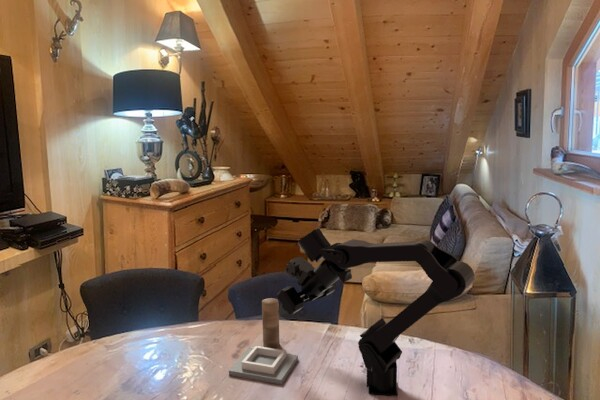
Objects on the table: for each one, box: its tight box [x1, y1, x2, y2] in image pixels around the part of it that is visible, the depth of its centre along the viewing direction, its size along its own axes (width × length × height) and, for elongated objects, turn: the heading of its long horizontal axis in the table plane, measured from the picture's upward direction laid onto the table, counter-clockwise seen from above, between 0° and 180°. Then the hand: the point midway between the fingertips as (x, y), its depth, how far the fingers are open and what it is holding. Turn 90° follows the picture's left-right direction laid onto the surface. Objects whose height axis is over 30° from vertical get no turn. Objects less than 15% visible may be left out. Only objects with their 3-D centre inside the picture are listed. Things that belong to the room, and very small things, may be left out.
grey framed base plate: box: [228, 345, 299, 385], centre depth 114 cm, size 14×12×3 cm
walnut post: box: [261, 297, 281, 349], centre depth 125 cm, size 5×5×13 cm
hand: (290, 307), depth 119 cm, fingers open, 9 cm apart
